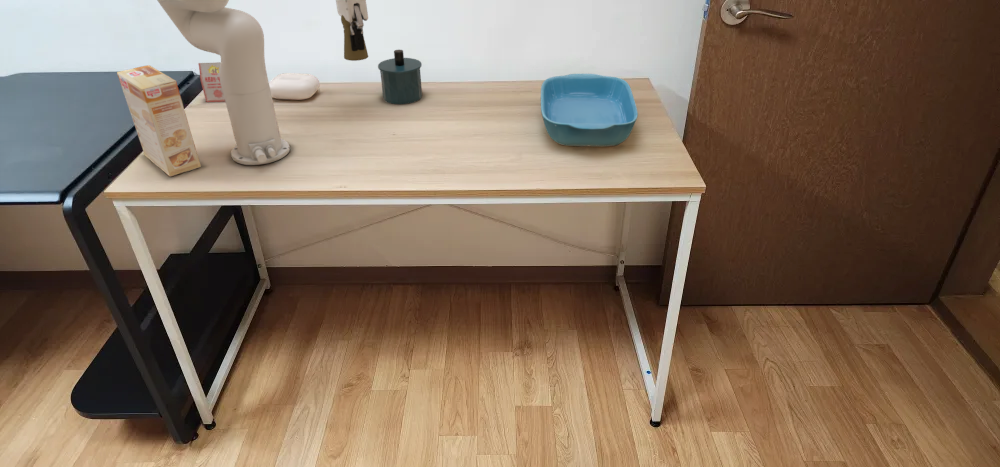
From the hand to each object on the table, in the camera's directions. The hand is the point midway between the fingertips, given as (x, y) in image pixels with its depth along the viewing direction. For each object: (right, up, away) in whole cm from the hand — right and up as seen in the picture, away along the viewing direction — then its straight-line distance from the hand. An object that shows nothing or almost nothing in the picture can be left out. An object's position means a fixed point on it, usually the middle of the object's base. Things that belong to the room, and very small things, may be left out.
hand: (355, 47), depth 161 cm
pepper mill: (0, -2, +1) cm, 3 cm away
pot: (+10, -10, +13) cm, 19 cm away
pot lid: (+10, -3, +9) cm, 13 cm away
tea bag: (-39, -10, +13) cm, 43 cm away
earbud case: (-20, -9, +15) cm, 26 cm away
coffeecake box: (-36, -31, -18) cm, 51 cm away
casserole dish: (+57, -20, -3) cm, 61 cm away
